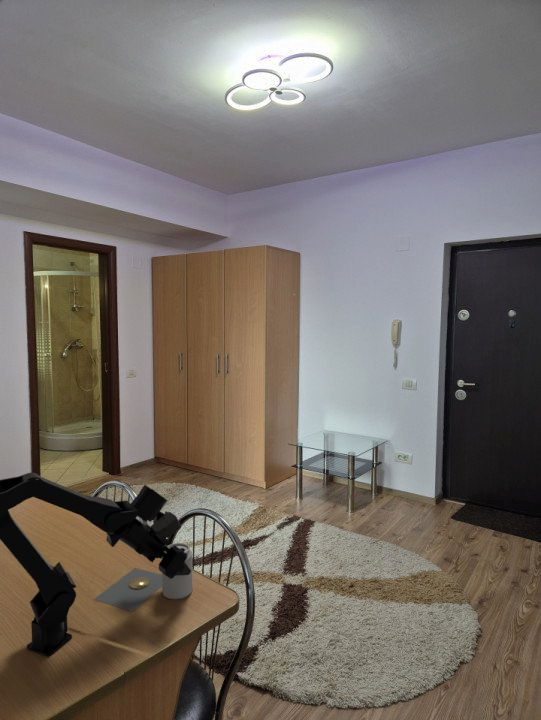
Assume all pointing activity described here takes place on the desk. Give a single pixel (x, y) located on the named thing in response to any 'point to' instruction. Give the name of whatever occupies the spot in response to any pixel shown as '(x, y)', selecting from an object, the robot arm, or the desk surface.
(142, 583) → the gold metal dome
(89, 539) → the desk surface
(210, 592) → the desk surface
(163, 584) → the can
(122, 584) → the mat
